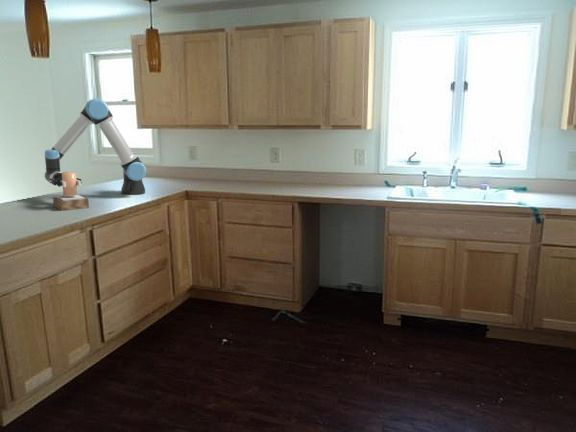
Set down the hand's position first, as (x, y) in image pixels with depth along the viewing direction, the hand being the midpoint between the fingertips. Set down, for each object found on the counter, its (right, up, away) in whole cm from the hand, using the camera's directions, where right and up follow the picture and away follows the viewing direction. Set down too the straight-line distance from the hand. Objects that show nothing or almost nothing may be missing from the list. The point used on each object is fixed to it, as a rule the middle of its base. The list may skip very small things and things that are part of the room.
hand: (72, 184), depth 247 cm
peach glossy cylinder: (-4, -6, +5) cm, 8 cm away
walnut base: (-4, -12, +6) cm, 14 cm away
